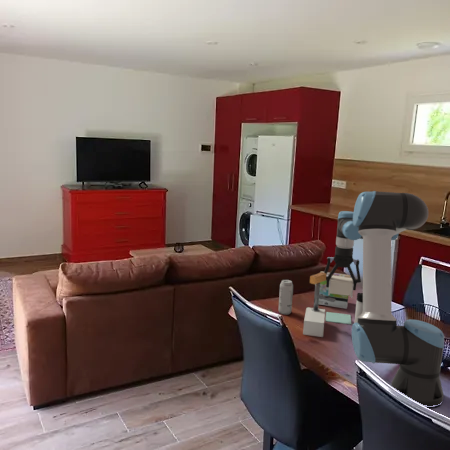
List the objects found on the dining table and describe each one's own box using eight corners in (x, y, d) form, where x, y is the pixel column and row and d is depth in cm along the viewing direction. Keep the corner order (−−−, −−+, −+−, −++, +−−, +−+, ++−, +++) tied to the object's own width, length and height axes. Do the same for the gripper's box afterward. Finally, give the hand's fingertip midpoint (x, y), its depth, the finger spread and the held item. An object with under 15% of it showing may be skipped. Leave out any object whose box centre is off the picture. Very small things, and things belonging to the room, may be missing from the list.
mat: (351, 324, 196) (351, 323, 196) (325, 321, 199) (325, 320, 198) (350, 315, 206) (350, 314, 206) (326, 312, 209) (326, 311, 209)
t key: (338, 312, 192) (341, 277, 189) (327, 318, 186) (330, 281, 183) (318, 306, 199) (321, 272, 196) (307, 311, 192) (310, 276, 189)
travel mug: (358, 344, 176) (363, 295, 173) (349, 337, 183) (354, 290, 179) (372, 343, 178) (377, 295, 174) (363, 336, 184) (368, 289, 181)
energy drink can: (290, 315, 203) (292, 284, 201) (277, 313, 205) (278, 282, 203) (292, 311, 209) (294, 280, 206) (279, 309, 211) (281, 278, 208)
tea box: (315, 305, 219) (317, 275, 216) (317, 298, 228) (319, 270, 226) (347, 309, 215) (350, 279, 212) (348, 302, 224) (350, 274, 221)
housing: (322, 337, 182) (324, 322, 181) (303, 334, 184) (304, 320, 183) (324, 322, 197) (325, 309, 196) (305, 320, 199) (306, 306, 198)
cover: (351, 296, 196) (352, 282, 195) (329, 293, 198) (330, 280, 197) (351, 290, 203) (352, 278, 202) (329, 288, 205) (330, 275, 204)
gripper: (369, 246, 198) (364, 295, 202) (319, 242, 203) (315, 290, 207) (370, 250, 190) (365, 301, 195) (318, 246, 196) (315, 295, 200)
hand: (340, 295), depth 201 cm, fingers closed on cover, 9 cm apart
